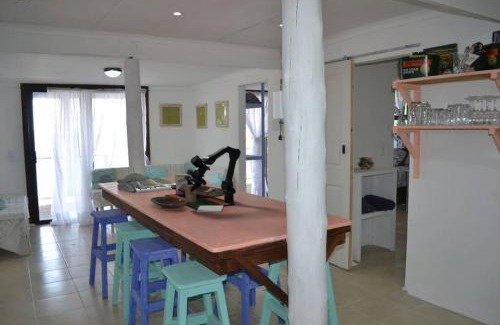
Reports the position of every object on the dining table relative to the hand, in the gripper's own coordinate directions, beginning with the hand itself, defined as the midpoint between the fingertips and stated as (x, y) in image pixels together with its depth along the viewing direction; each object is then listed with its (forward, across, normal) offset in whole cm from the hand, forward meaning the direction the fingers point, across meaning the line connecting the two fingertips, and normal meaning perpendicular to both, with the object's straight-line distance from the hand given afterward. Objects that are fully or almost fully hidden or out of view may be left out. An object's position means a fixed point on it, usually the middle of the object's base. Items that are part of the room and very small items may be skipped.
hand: (188, 190), depth 259 cm
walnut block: (+4, 0, +6) cm, 7 cm away
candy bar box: (-10, -51, +31) cm, 60 cm away
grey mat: (+3, +10, +16) cm, 19 cm away
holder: (-12, -90, +33) cm, 96 cm away
